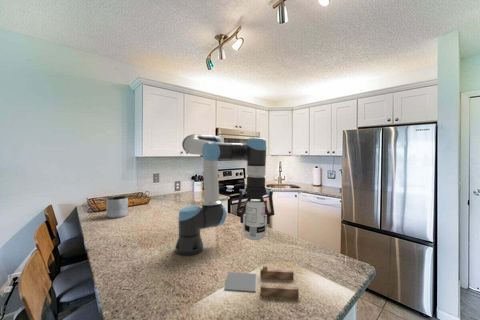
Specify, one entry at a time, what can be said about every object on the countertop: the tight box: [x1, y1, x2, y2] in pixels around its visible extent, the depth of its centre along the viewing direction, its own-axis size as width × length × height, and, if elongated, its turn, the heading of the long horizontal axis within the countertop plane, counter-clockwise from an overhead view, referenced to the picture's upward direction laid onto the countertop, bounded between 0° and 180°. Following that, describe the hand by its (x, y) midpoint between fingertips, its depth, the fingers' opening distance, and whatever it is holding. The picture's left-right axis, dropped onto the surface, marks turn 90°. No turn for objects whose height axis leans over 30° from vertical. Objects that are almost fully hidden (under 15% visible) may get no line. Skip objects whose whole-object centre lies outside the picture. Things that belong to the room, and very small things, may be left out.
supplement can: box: [244, 199, 266, 241], centre depth 87 cm, size 8×8×15 cm
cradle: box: [259, 264, 300, 299], centre depth 85 cm, size 14×13×4 cm
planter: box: [105, 195, 129, 219], centre depth 180 cm, size 16×16×16 cm
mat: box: [223, 271, 257, 293], centre depth 88 cm, size 12×12×1 cm
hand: (254, 231), depth 87 cm, fingers closed on supplement can, 8 cm apart
